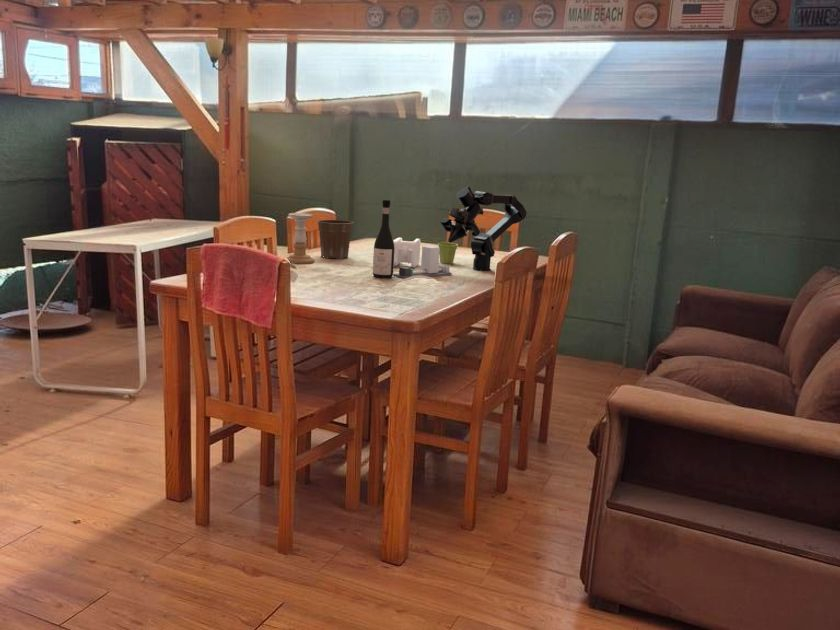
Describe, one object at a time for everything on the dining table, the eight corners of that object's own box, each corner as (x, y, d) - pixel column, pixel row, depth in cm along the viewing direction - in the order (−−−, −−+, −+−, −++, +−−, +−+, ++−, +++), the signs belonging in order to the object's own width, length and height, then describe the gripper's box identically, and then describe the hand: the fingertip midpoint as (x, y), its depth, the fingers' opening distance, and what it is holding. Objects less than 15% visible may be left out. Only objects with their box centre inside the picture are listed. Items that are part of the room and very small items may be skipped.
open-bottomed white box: (429, 270, 298) (431, 245, 296) (438, 272, 295) (439, 247, 293) (420, 271, 295) (422, 246, 293) (429, 273, 292) (430, 248, 289)
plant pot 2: (460, 263, 331) (461, 244, 329) (450, 265, 324) (451, 246, 322) (443, 260, 336) (444, 242, 334) (432, 262, 328) (433, 243, 326)
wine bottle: (390, 279, 280) (394, 201, 273) (370, 277, 281) (373, 199, 274) (394, 276, 287) (398, 200, 281) (375, 274, 289) (379, 198, 282)
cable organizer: (414, 269, 307) (416, 242, 304) (390, 267, 308) (391, 240, 305) (419, 264, 321) (421, 238, 319) (396, 262, 323) (397, 236, 320)
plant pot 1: (308, 255, 326) (309, 220, 322) (334, 253, 338) (336, 218, 334) (333, 260, 316) (334, 224, 312) (359, 258, 328) (361, 222, 324)
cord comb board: (438, 271, 304) (438, 262, 303) (451, 274, 298) (452, 265, 298) (393, 275, 287) (393, 266, 286) (406, 279, 282) (407, 269, 281)
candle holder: (290, 258, 315) (291, 212, 311) (317, 260, 314) (319, 214, 309) (281, 262, 303) (281, 214, 299) (309, 264, 302) (310, 216, 297)
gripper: (445, 199, 306) (424, 225, 301) (477, 203, 293) (456, 231, 288) (456, 217, 313) (436, 243, 308) (488, 222, 300) (468, 250, 295)
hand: (449, 241), depth 299 cm, fingers closed
